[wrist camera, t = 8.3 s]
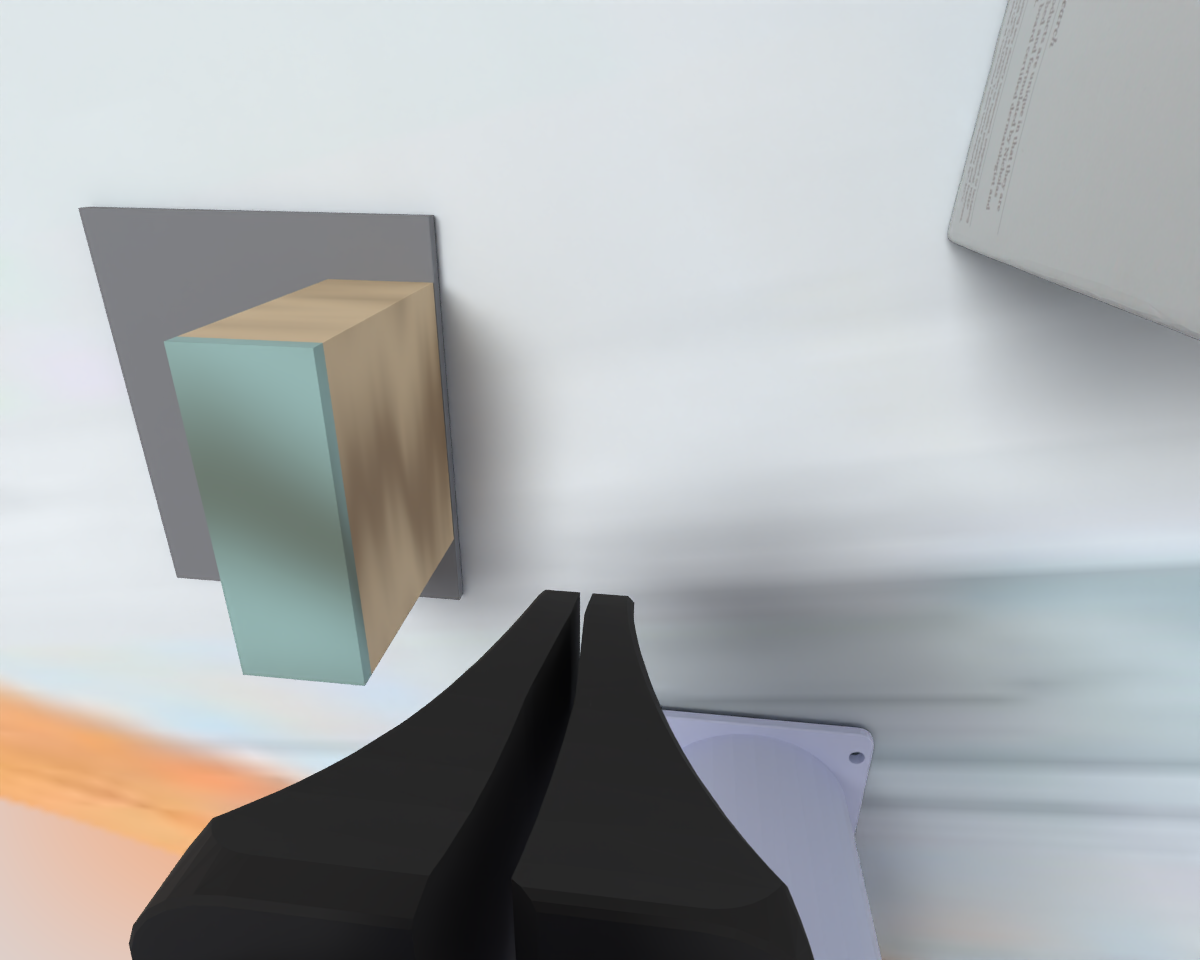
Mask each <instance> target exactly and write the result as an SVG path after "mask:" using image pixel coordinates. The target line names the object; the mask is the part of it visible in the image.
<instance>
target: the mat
mask: <svg viewBox="0 0 1200 960" xmlns="http://www.w3.org/2000/svg"><path fill="white" fill-rule="evenodd" d="M79 212H80V216H81V220H82V223H83V227H84V231H85V235H86V238H87V242H88V246H89V249H90V253H91V257H92V261H93V264H94V268H95V272H96V276H97V279H98V283H99V287H100V291H101V294H102V298H103V302H104V306H105V309H106V313H107V317H108V321H109V324H110V328H111V332H112V336H113V339H114V343H115V347H116V351H117V354H118V358H119V362H120V365H121V369H122V373H123V377H124V380H125V384H126V388H127V392H128V395H129V399H130V403H131V407H132V410H133V414H134V418H135V422H136V425H137V429H138V433H139V437H140V440H141V444H142V448H143V452H144V455H145V459H146V463H147V467H148V470H149V474H150V478H151V481H152V485H153V489H154V493H155V496H156V500H157V504H158V508H159V511H160V515H161V519H162V523H163V526H164V530H165V534H166V538H167V541H168V545H169V549H170V553H171V556H172V560H173V564H174V568H175V571H176V575H177V578H189V579H201V580H214V581H221V580H220V575H219V571H218V567H217V563H216V559H215V554H214V550H213V546H212V542H211V538H210V533H209V529H208V525H207V521H206V517H205V512H204V508H203V504H202V500H201V496H200V492H199V487H198V483H197V479H196V475H195V471H194V466H193V462H192V458H191V454H190V450H189V445H188V441H187V437H186V433H185V429H184V424H183V420H182V416H181V412H180V408H179V403H178V399H177V395H176V391H175V387H174V383H173V378H172V374H171V370H170V366H169V362H168V357H167V353H166V349H165V345H164V341H166V340H169V339H172V338H174V337H177V336H180V335H182V334H185V333H187V332H190V331H193V330H195V329H198V328H201V327H203V326H206V325H209V324H211V323H214V322H216V321H219V320H222V319H224V318H227V317H230V316H232V315H235V314H237V313H240V312H243V311H245V310H248V309H251V308H253V307H256V306H259V305H261V304H264V303H266V302H269V301H272V300H274V299H277V298H280V297H282V296H285V295H287V294H290V293H293V292H295V291H298V290H301V289H303V288H306V287H308V286H311V285H314V284H316V283H319V282H322V281H324V280H327V279H339V280H369V281H398V282H428V283H433V289H434V301H435V313H436V326H437V338H438V350H439V363H440V375H441V387H442V399H443V412H444V424H445V436H446V449H447V461H448V473H449V486H450V498H451V510H452V523H453V535H454V540H453V541H452V543H451V545H450V546H449V548H448V550H447V551H446V553H445V555H444V556H443V558H442V560H441V561H440V563H439V564H438V566H437V568H436V569H435V571H434V573H433V574H432V576H431V578H430V579H429V581H428V583H427V584H426V586H425V587H424V589H423V591H422V592H421V594H420V596H419V597H430V598H443V599H455V600H460V598H461V596H462V594H463V586H462V573H461V561H460V548H459V535H458V522H457V509H456V497H455V484H454V471H453V458H452V445H451V433H450V420H449V407H448V394H447V382H446V369H445V356H444V343H443V330H442V318H441V305H440V292H439V279H438V266H437V254H436V241H435V228H434V215H407V214H366V213H324V212H283V211H241V210H200V209H158V208H117V207H83V208H79Z"/></svg>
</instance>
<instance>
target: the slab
mask: <svg viewBox="0 0 1200 960" xmlns="http://www.w3.org/2000/svg"><path fill="white" fill-rule="evenodd" d="M164 345H165V349H166V353H167V357H168V362H169V366H170V370H171V374H172V378H173V383H174V387H175V391H176V395H177V399H178V403H179V408H180V412H181V416H182V420H183V424H184V429H185V433H186V437H187V441H188V445H189V450H190V454H191V458H192V462H193V466H194V471H195V475H196V479H197V483H198V487H199V492H200V496H201V500H202V504H203V508H204V512H205V517H206V521H207V525H208V529H209V533H210V538H211V542H212V546H213V550H214V554H215V559H216V563H217V567H218V571H219V575H220V580H221V584H222V588H223V592H224V596H225V600H226V605H227V609H228V613H229V617H230V621H231V626H232V630H233V634H234V638H235V642H236V647H237V651H238V655H239V659H240V663H241V668H242V672H243V675H254V676H264V677H275V678H286V679H297V680H308V681H319V682H329V683H340V684H351V685H362V686H365V685H366V683H367V681H368V680H369V678H370V676H371V675H372V673H373V671H374V670H375V668H376V667H377V665H378V663H379V662H380V660H381V658H382V657H383V655H384V653H385V652H386V650H387V648H388V647H389V645H390V643H391V642H392V640H393V639H394V637H395V635H396V634H397V632H398V630H399V629H400V627H401V625H402V624H403V622H404V620H405V619H406V617H407V615H408V614H409V612H410V611H411V609H412V607H413V606H414V604H415V602H416V601H417V599H418V597H419V596H420V594H421V592H422V591H423V589H424V587H425V586H426V584H427V583H428V581H429V579H430V578H431V576H432V574H433V573H434V571H435V569H436V568H437V566H438V564H439V563H440V561H441V560H442V558H443V556H444V555H445V553H446V551H447V550H448V548H449V546H450V545H451V543H452V541H453V540H454V535H453V523H452V510H451V498H450V486H449V473H448V461H447V449H446V436H445V424H444V412H443V399H442V387H441V375H440V363H439V350H438V338H437V326H436V313H435V301H434V289H433V283H428V282H398V281H369V280H339V279H327V280H324V281H322V282H319V283H316V284H314V285H311V286H308V287H306V288H303V289H301V290H298V291H295V292H293V293H290V294H287V295H285V296H282V297H280V298H277V299H274V300H272V301H269V302H266V303H264V304H261V305H259V306H256V307H253V308H251V309H248V310H245V311H243V312H240V313H237V314H235V315H232V316H230V317H227V318H224V319H222V320H219V321H216V322H214V323H211V324H209V325H206V326H203V327H201V328H198V329H195V330H193V331H190V332H187V333H185V334H182V335H180V336H177V337H174V338H172V339H169V340H166V341H164Z"/></svg>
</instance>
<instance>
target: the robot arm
mask: <svg viewBox="0 0 1200 960" xmlns="http://www.w3.org/2000/svg"><path fill="white" fill-rule="evenodd" d="M873 750H874V741H873V738H872V735H871V734H870V732H868V731H867V730H865V729H862V728H856V727H845V726H834V725H823V724H812V723H801V722H790V721H780V720H769V719H758V718H747V717H736V716H725V715H714V714H703V713H692V712H681V711H670V710H662V708H661V706H660V704H659V701H658V699H657V697H656V694H655V692H654V690H653V687H652V684H651V682H650V679H649V676H648V673H647V670H646V667H645V664H644V661H643V658H642V655H641V651H640V648H639V644H638V640H637V635H636V631H635V625H634V602H633V601H632V600H631V599H630V598H629V597H628V596H619V595H606V594H592V596H591V599H590V601H589V603H588V606H587V609H586V612H585V615H584V624H583V633H582V643H581V652H580V592H567V591H554V590H545V591H543V592H542V593H541V594H540V595H539V596H538V597H537V598H536V599H535V600H534V601H533V603H532V604H531V605H530V606H529V607H528V608H527V610H526V611H525V612H524V613H523V614H522V615H521V616H520V618H519V619H518V620H517V621H516V622H515V623H514V624H513V625H512V626H511V627H510V628H509V630H508V631H507V632H506V633H505V634H504V635H503V636H502V637H501V638H500V639H499V640H498V641H497V642H496V643H495V644H494V645H493V646H492V647H491V648H490V649H489V650H488V651H487V652H486V653H485V654H484V655H483V656H482V657H481V658H480V659H479V660H478V661H477V662H476V663H475V664H474V665H473V666H471V667H470V668H469V669H468V670H467V671H466V672H465V673H464V674H463V675H461V676H460V677H459V678H458V679H457V680H456V681H455V682H454V683H453V684H451V685H450V686H449V687H448V688H447V689H446V690H444V691H443V692H442V693H441V694H440V695H438V696H437V697H436V698H435V699H433V700H432V701H431V702H430V703H428V704H427V705H426V706H425V707H423V708H422V709H420V710H419V711H418V712H416V713H415V714H414V715H412V716H411V717H410V718H408V719H407V720H406V721H404V722H403V723H401V724H400V725H398V726H397V727H395V728H393V729H392V730H390V731H388V732H387V733H385V734H384V735H382V736H380V737H379V738H377V739H376V740H374V741H372V742H371V743H369V744H368V745H366V746H364V747H363V748H361V749H360V750H358V751H356V752H355V753H353V754H351V755H349V756H348V757H346V758H344V759H342V760H340V761H338V762H336V763H335V764H333V765H331V766H329V767H327V768H325V769H323V770H321V771H319V772H317V773H315V774H313V775H311V776H309V777H307V778H305V779H303V780H301V781H299V782H297V783H295V784H293V785H291V786H289V787H286V788H284V789H282V790H280V791H278V792H275V793H273V794H270V795H268V796H266V797H263V798H261V799H259V800H256V801H254V802H251V803H249V804H247V805H244V806H242V807H240V808H237V809H235V810H232V811H230V812H228V813H225V814H222V815H220V816H217V817H214V818H213V819H212V820H211V821H210V822H209V823H208V825H207V826H206V827H205V828H204V830H203V831H202V832H201V833H200V834H199V836H198V837H197V838H196V839H195V840H194V842H193V843H192V844H191V845H190V846H189V848H188V849H187V850H186V852H185V853H184V855H183V856H182V857H181V859H180V860H179V861H178V863H177V864H176V866H175V867H174V868H173V870H172V871H171V873H170V874H169V876H168V877H167V878H166V880H165V881H164V883H163V884H162V886H161V887H160V888H159V890H158V891H157V892H156V894H155V895H154V897H153V898H152V899H151V901H150V902H149V904H148V905H147V907H146V908H145V909H144V911H143V912H142V914H141V915H140V916H139V918H138V919H137V921H136V922H135V923H134V925H133V928H132V933H131V937H130V942H129V946H130V951H131V956H132V960H882V958H881V954H880V949H879V945H878V940H877V936H876V931H875V927H874V923H873V918H872V914H871V909H870V905H869V900H868V896H867V891H866V887H865V883H864V878H863V874H862V869H861V865H860V860H859V856H858V851H857V847H856V843H855V838H854V836H855V831H856V827H857V822H858V818H859V813H860V809H861V804H862V800H863V795H864V790H865V786H866V781H867V777H868V772H869V768H870V763H871V759H872V754H873ZM853 752H860V753H859V754H858V755H851V754H852V753H853Z"/></svg>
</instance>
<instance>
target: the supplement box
mask: <svg viewBox="0 0 1200 960" xmlns="http://www.w3.org/2000/svg"><path fill="white" fill-rule="evenodd" d="M948 239H949V240H950V241H952V242H954V243H956V244H958V245H960V246H963V247H965V248H968V249H970V250H972V251H975V252H977V253H980V254H982V255H985V256H987V257H989V258H992V259H995V260H997V261H1000V262H1003V263H1006V264H1008V265H1010V266H1013V267H1015V268H1018V269H1020V270H1023V271H1025V272H1028V273H1030V274H1033V275H1035V276H1037V277H1040V278H1042V279H1045V280H1047V281H1050V282H1053V283H1055V284H1058V285H1060V286H1063V287H1065V288H1068V289H1070V290H1073V291H1076V292H1078V293H1081V294H1084V295H1086V296H1089V297H1092V298H1094V299H1097V300H1099V301H1102V302H1104V303H1107V304H1109V305H1112V306H1114V307H1117V308H1119V309H1122V310H1124V311H1127V312H1129V313H1132V314H1135V315H1137V316H1140V317H1142V318H1145V319H1147V320H1150V321H1152V322H1155V323H1158V324H1160V325H1163V326H1165V327H1168V328H1170V329H1172V330H1175V331H1177V332H1180V333H1182V334H1185V335H1187V336H1190V337H1192V338H1195V339H1197V340H1200V0H1008V4H1007V9H1006V13H1005V16H1004V20H1003V23H1002V26H1001V30H1000V33H999V37H998V41H997V45H996V49H995V53H994V57H993V61H992V65H991V69H990V72H989V76H988V80H987V83H986V87H985V90H984V94H983V98H982V102H981V106H980V110H979V114H978V117H977V121H976V125H975V129H974V133H973V137H972V140H971V144H970V147H969V151H968V155H967V159H966V163H965V167H964V172H963V176H962V180H961V183H960V186H959V189H958V193H957V197H956V201H955V206H954V210H953V214H952V218H951V222H950V225H949V229H948Z"/></svg>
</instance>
